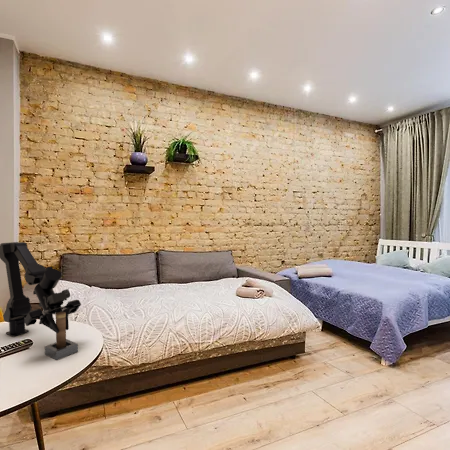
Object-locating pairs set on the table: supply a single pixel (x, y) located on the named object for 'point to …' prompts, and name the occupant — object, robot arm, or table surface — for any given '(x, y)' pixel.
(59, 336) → the pin
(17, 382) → the table surface
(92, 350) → the table surface
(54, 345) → the socket block
